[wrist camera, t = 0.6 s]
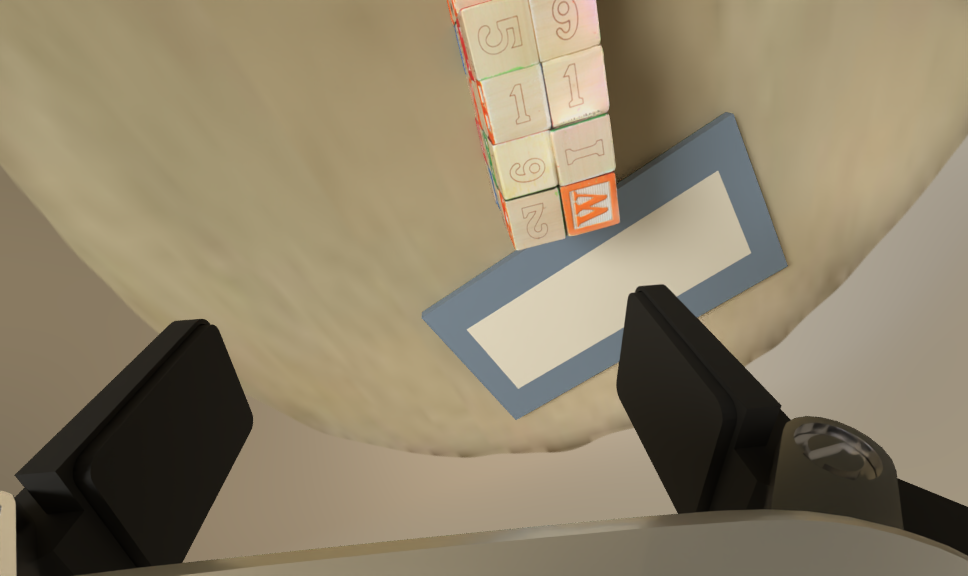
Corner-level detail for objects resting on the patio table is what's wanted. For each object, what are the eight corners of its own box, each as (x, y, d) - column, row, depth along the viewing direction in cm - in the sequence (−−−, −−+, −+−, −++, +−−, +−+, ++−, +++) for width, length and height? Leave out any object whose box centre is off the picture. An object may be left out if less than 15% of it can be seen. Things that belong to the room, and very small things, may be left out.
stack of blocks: (408, -150, 25) (385, -306, 15) (511, -181, 25) (566, -364, 14) (492, 195, 36) (515, 255, 25) (566, 175, 35) (622, 226, 24)
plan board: (725, 112, 34) (733, 113, 33) (780, 261, 41) (788, 266, 40) (422, 312, 40) (421, 318, 39) (514, 413, 47) (515, 420, 46)
